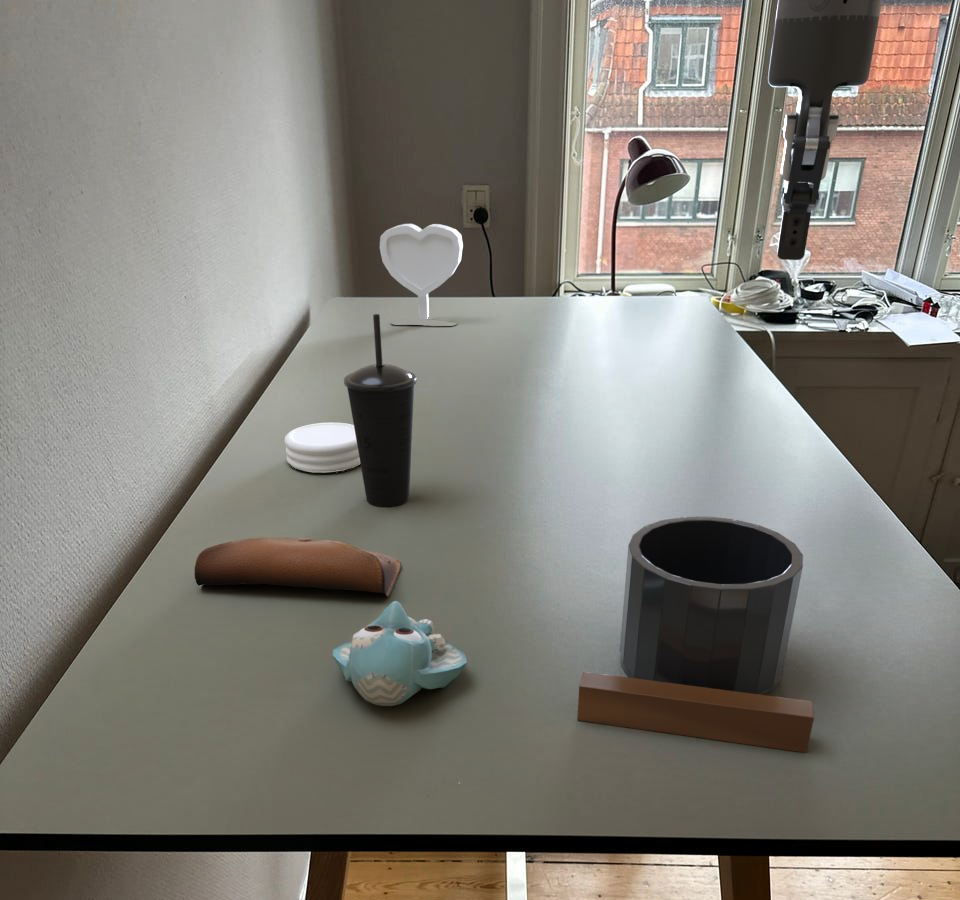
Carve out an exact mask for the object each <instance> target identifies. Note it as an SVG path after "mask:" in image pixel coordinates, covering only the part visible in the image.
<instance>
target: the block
mask: <svg viewBox="0 0 960 900" xmlns="http://www.w3.org/2000/svg"><path fill="white" fill-rule="evenodd" d="M577 701H578V702H577V717H576V720H577V721H580V722H587V723H593V724H603V725H609V726H616V727H621V728H623V727H624V728H629V729H637V730H645V731H650V732H658V733H666V734H671V735H672V734H673V735H679V736H687V737H693V738H701V739H706V740H715V741H721V742H727V743H735V744H742V745H749V746H756V747H764V748H771V749H778V750H785V751H791V752H798V753H806V754H807V753H808V748H809V743H810V738H811V733H812V728H813V724H814V720H815V713H814V703H813V701H811V700H805V699H797V698H788V697H780V696H773V695H767V696H766V695H758V694H751V693H743V692H735V691H728V690H720V689H712V688H705V687H697V686H689V685H682V684H674V683H666V682H659V681H651V680H643V679H636V678H629V677H628V676H619V675H612V674H604V673H596V672H590V671H583V672H582V675H581V679H580V681H579V686H578V699H577Z"/></svg>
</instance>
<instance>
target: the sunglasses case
mask: <svg viewBox="0 0 960 900" xmlns="http://www.w3.org/2000/svg"><path fill="white" fill-rule="evenodd" d="M401 570H402V562H401V561H400V560H399V559H396V558H393V557H391V556H388V555H387V554H383V553H380V552H375V551H371V550H365V549H361V548H358V547H357V546H354V545H351V544H349V543H345V542H342V541H338V540H331V539H330V540H329V539H311V538H309V537H299V538H294V537H253V538H252V537H251V538H243V539H238V540H233V541H231V540H230V541H228V542H223V543H219V544H215V545H213V546H209V547H206V548H204V549H203V550H201V552H199V554H198V556H197V557H196V559H195V564H194V579H195V580H194V581H195V583H196V585H197V586H200V585H202V586H203V585H204V586H205V585H206V586H208V585H209V586H210V585H211V586H212V585H215V586H223V585H234V586H238V585H242V584H244V585H250V586H251V585H261V584H263V585H264V584H265V585H266V584H267V585H270V586H283V587H300V588H301V587H303V588H304V587H305V588H307V587H308V588H310V587H311V588H316V589H327V590H329V589H330V590H342V591H343V590H346V591H358V592H371V593H375V594H377V593H382V594H383V596H385V597H390V595H391V594H392V592H393V590H394V587H395V585H396V582H397V580H398V577H399V575H400V571H401ZM200 587H201V586H200Z"/></svg>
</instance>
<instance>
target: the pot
mask: <svg viewBox="0 0 960 900" xmlns="http://www.w3.org/2000/svg"><path fill="white" fill-rule="evenodd" d="M625 569H626V571H625V583H624V593H623V605H622V618H621V629H620V630H621V631H620V643H619V653H620V654H619V661H620V665H621V667H622V670H623V672H624V673H625V675H626V677H628V678H636V679H643V680H651V681H659V682H666V683H674V684H682V685H689V686H697V687H705V688H712V689H720V690H728V691H735V692H743V693H751V694H758V695H766V696H770V695H771V694H772V693H773V692H774V690H776V689H777V687H778V685H779V684H780V682H781V679H782V676H783V672H784V667H785V662H786V657H787V651H788V646H789V642H790V641H789V640H790V636H791V630H792V626H793V625H792V624H793V619H794V614H795V609H796V603H797V598H798V593H799V588H800V584H801V578H802V573H803V569H804V554H803V552H801V550H800V549H799V547H798V546H797V544H796V543H795V542H794V541H792V540H790V539H789V538H788V537H785V535H782V534H781V533H779V532H777V531H775V530H772V529H770V528H768V527H765V526H762V525H760V524H755V523H753V522H749V521H747V522H746V521H743V520H740V519H735V518H726V517H717V516H681V517H674V518H668V519H661V520H658V521H656V522H653V523H649V524H647V525H644V526H643V527H641V528H640V529H639V530H638V531H636V532H635V533H633V534H632V536H631V538H630V540H629V543H628V547H627V557H626V568H625Z"/></svg>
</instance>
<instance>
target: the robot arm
mask: <svg viewBox="0 0 960 900" xmlns="http://www.w3.org/2000/svg"><path fill="white" fill-rule="evenodd" d="M882 4H883V0H777V6H776V7H777V8H776V13H775V23H774V29H773V37H772V44H771V52H770V60H769V67H768V76H767V82H768V84H769V85H770V86H771V87H772V88H795V89H796V90H797V91H798V99H797V105H796V111H795V114H793V113H792V114H791V113H790V114H785V118H784V125H783V133H782V136H783V139H784V147H783V156H782V161H781V168H780V174H781V177H782V179H783V180H784V183H783V184H784V185H783V186H782V189H781V194H782V196H781V200H780V205H781V209H782V215H781V221H780V229H779V236H778V242H777V248H776V249H777V250H776V255H777V257H778V259H779V260H781V261H783V260H786V261H800V260H802V259H804V257H805V253H806V247H807V243H808V242H807V241H808V237H809V229H810V223H811V217H812V212H814V210H815V209H814V208H815V207H816V206H817V201H819V198H820V193H819V192H820V187H821V183H822V181H823V180H824V179H825V178H826V175H827V170H828V165H829V160H830V153H831V147H832V143H833V141H834V140H835V139H836V137H837V132H838V127H839V119H840V115H839V114H836V113H831V109H832V101H833V100H832V99H833V94H834V91H835V90H836V89H837V88H839V87H861V86H863V85H865V84H866V83H867V82H868V81H869V78H870V72H871V66H872V60H873V54H874V49H875V43H876V38H877V32H878V28H879V27H878V26H879V22H880V16H881V15H880V14H881V10H882Z"/></svg>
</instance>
